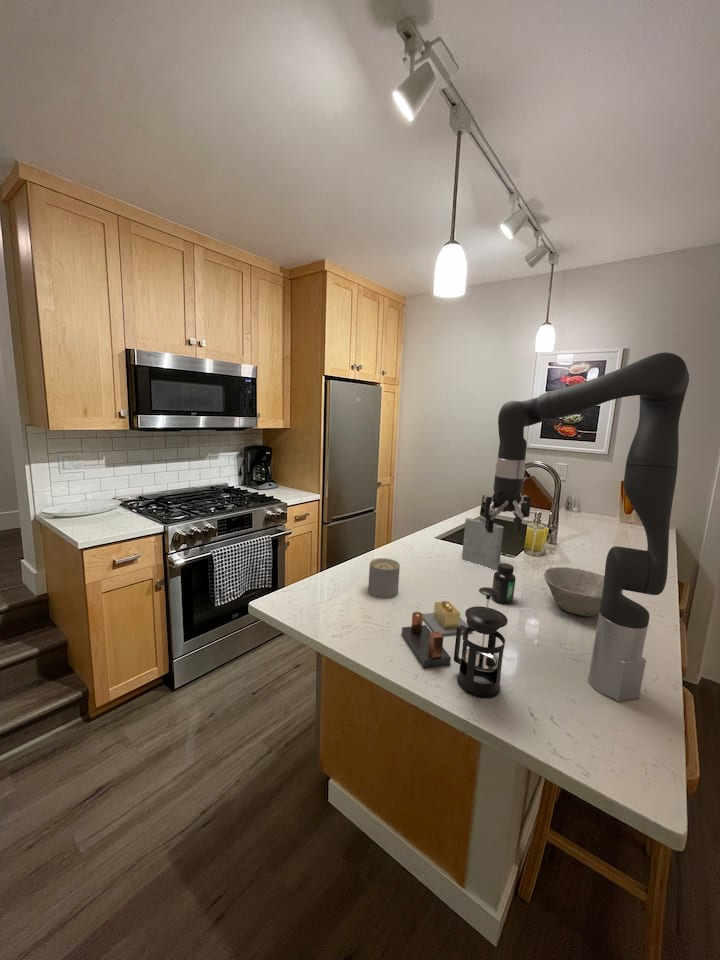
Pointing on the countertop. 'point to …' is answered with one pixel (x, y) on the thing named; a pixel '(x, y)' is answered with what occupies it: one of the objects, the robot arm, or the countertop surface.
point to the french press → (481, 649)
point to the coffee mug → (383, 578)
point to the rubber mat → (436, 626)
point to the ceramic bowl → (576, 589)
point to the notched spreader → (482, 543)
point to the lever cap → (446, 614)
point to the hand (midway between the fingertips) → (502, 531)
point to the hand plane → (425, 643)
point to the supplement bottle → (504, 584)
